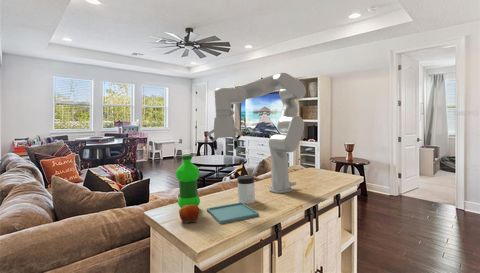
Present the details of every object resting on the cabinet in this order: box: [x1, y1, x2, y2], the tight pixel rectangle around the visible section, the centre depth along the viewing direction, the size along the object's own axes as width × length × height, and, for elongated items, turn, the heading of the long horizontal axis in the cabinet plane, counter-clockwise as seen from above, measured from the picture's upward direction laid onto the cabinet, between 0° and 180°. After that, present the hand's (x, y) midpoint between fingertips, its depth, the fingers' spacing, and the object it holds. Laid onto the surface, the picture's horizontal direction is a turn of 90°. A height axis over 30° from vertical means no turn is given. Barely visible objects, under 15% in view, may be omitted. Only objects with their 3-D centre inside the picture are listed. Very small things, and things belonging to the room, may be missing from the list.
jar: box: [237, 174, 256, 205], centre depth 127 cm, size 9×8×12 cm
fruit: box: [178, 204, 201, 225], centre depth 104 cm, size 8×8×8 cm
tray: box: [206, 202, 260, 225], centre depth 111 cm, size 17×17×1 cm
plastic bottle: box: [175, 154, 201, 209], centre depth 117 cm, size 10×10×25 cm
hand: (225, 149), depth 126 cm, fingers open, 9 cm apart
